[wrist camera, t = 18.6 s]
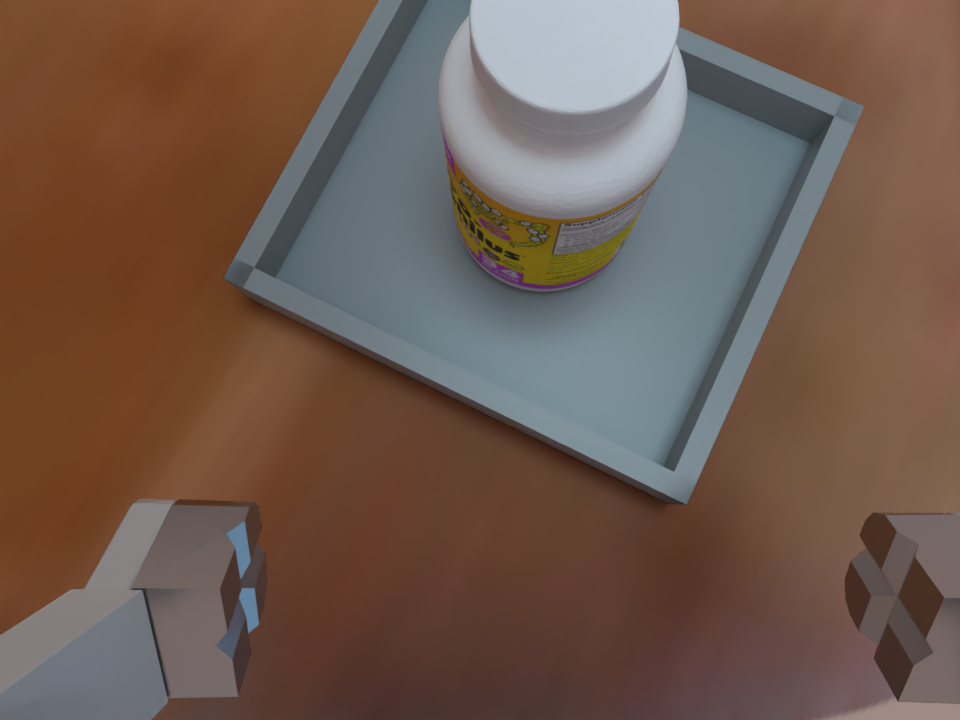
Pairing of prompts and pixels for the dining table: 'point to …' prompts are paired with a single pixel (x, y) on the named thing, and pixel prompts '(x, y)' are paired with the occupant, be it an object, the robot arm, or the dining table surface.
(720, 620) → the dining table surface
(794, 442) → the dining table surface
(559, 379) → the tray
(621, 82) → the supplement bottle
